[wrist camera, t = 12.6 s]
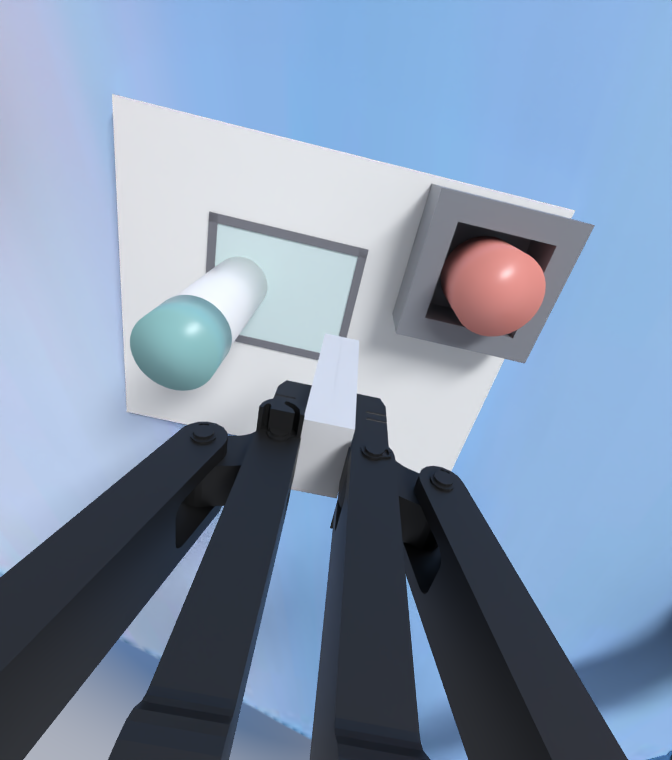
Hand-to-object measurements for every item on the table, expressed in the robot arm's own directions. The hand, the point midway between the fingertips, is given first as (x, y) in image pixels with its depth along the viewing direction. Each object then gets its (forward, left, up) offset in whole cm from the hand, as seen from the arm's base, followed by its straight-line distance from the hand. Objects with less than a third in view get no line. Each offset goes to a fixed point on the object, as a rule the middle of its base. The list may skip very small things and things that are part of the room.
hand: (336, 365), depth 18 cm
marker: (-2, +8, -13) cm, 15 cm away
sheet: (-4, +2, -15) cm, 15 cm away
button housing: (+3, -8, -13) cm, 16 cm away
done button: (+3, -8, -11) cm, 14 cm away
